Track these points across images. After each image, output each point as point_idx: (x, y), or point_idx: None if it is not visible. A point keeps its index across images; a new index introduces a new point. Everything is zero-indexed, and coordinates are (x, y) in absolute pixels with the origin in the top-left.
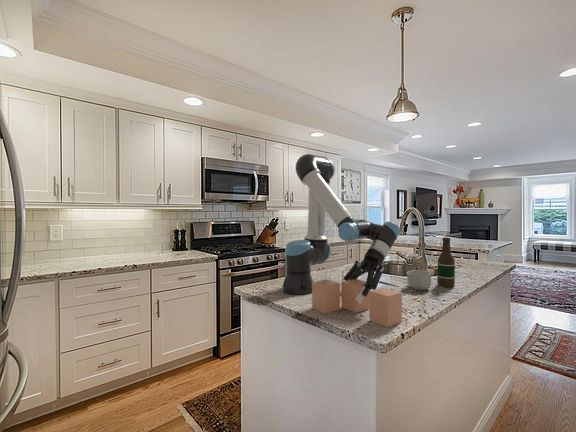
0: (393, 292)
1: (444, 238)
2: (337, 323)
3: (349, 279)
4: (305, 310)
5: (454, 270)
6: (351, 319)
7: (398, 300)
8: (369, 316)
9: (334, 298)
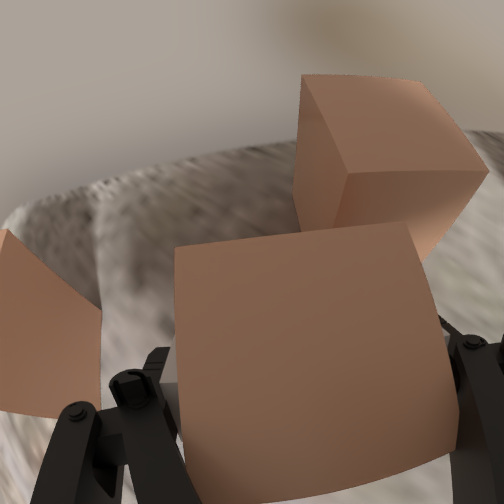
0: None
1: None
2: (169, 181)
3: (461, 359)
4: None
5: None
6: (162, 250)
7: None
8: (92, 304)
9: (313, 203)
